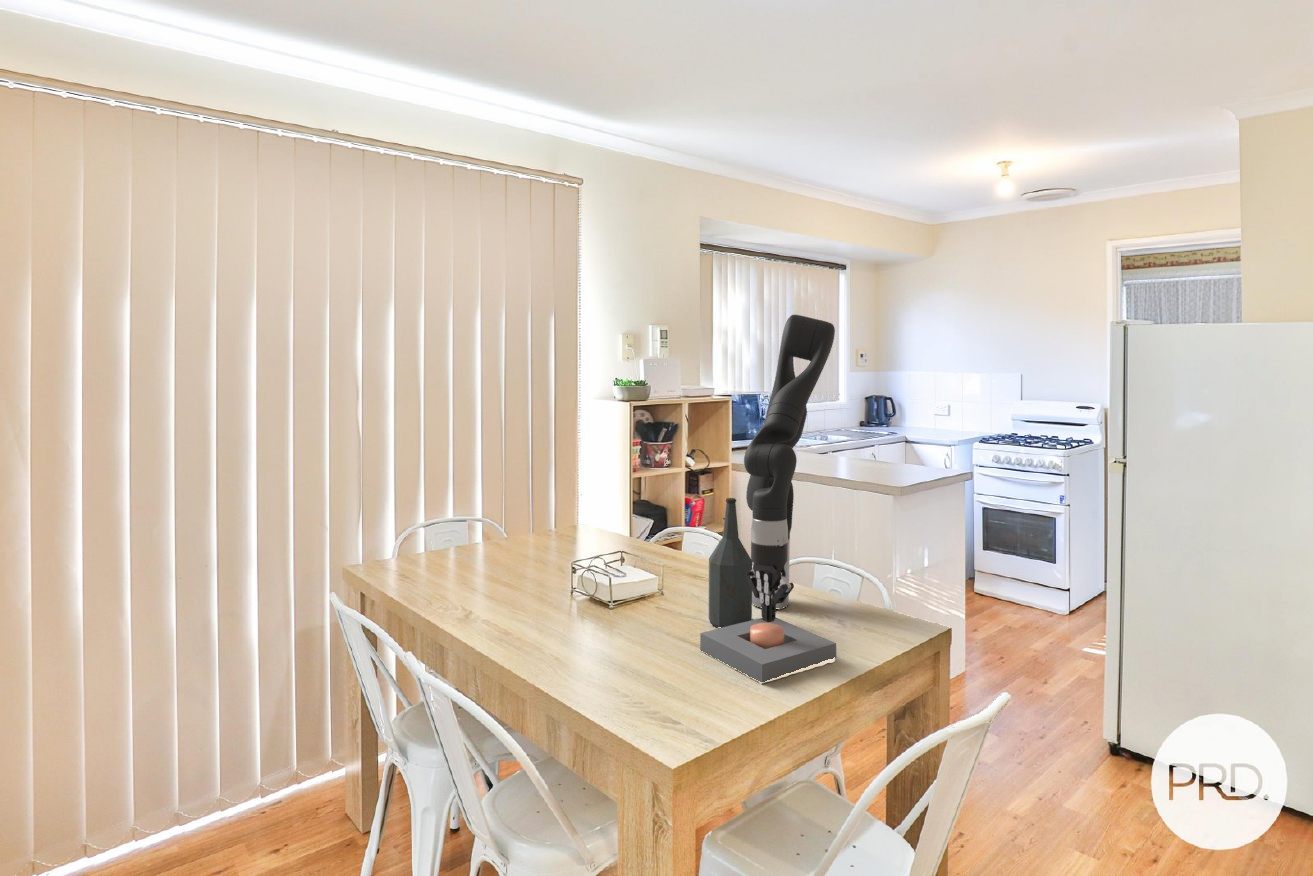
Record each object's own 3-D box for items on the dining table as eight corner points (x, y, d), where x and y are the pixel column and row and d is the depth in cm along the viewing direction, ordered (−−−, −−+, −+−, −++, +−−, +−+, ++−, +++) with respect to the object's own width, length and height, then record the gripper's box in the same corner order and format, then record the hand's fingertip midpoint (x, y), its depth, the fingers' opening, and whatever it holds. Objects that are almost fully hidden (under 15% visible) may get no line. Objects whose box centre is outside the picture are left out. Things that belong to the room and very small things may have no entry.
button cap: (743, 645, 160) (743, 627, 159) (768, 638, 164) (768, 620, 163) (765, 656, 154) (765, 637, 153) (790, 649, 158) (791, 630, 157)
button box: (700, 651, 162) (700, 633, 161) (771, 632, 173) (771, 615, 172) (761, 684, 145) (762, 664, 145) (835, 661, 156) (836, 643, 156)
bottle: (754, 618, 182) (756, 495, 179) (748, 632, 173) (749, 503, 170) (712, 614, 185) (713, 493, 182) (704, 628, 176) (704, 501, 172)
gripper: (734, 535, 160) (734, 615, 161) (777, 548, 149) (776, 634, 150) (761, 531, 164) (761, 609, 166) (805, 543, 153) (804, 626, 155)
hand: (768, 620), depth 158 cm, fingers closed
